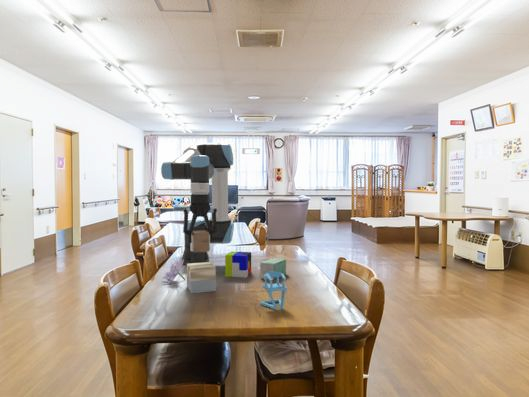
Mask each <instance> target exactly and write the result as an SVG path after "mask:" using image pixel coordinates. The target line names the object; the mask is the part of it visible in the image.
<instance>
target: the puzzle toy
mask: <svg viewBox="0 0 529 397" xmlns="http://www.w3.org/2000/svg"><path fill="white" fill-rule="evenodd" d="M224 256H225V257H224V258H225V260H224V261H225V262H224V264H225V265H224V266H225V268H224V269H225V271H224V273H225V274H224V275H225V277H230V278H248V276H250V274H251V273H252V252H251V251H230V252H228V253H226V254H225V255H224Z"/></svg>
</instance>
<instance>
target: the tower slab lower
mask: <svg viewBox="0 0 529 397" xmlns="http://www.w3.org/2000/svg"><path fill="white" fill-rule="evenodd" d="M186 288H187V290H188V291H189V293H190V294H198V293H208V292H216V291H217V278H216V279H212V280H200V281H190V280H189V278H188V277H187V276H186Z"/></svg>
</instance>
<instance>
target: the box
mask: <svg viewBox="0 0 529 397" xmlns="http://www.w3.org/2000/svg"><path fill="white" fill-rule="evenodd" d="M259 265H260V273H259V276H260V277H259V278H260V279H263V280H265V279H264V275H265V274H266V273H268V272H270V271H275V272H280V273H282V274H284V275H286V274H287V259H286V258H277V257H273V258H270V259H267V260H264V261H261V262H260V264H259ZM266 279H267V280H268V278H266ZM271 279H272V281H273V280H277V277H271Z"/></svg>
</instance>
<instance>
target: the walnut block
mask: <svg viewBox="0 0 529 397" xmlns="http://www.w3.org/2000/svg"><path fill="white" fill-rule="evenodd" d="M192 235H193V241H194V251H193V252H194V253H196V252H209V253H210V250H209V232H208V231H206V230H200V231H192Z"/></svg>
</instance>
